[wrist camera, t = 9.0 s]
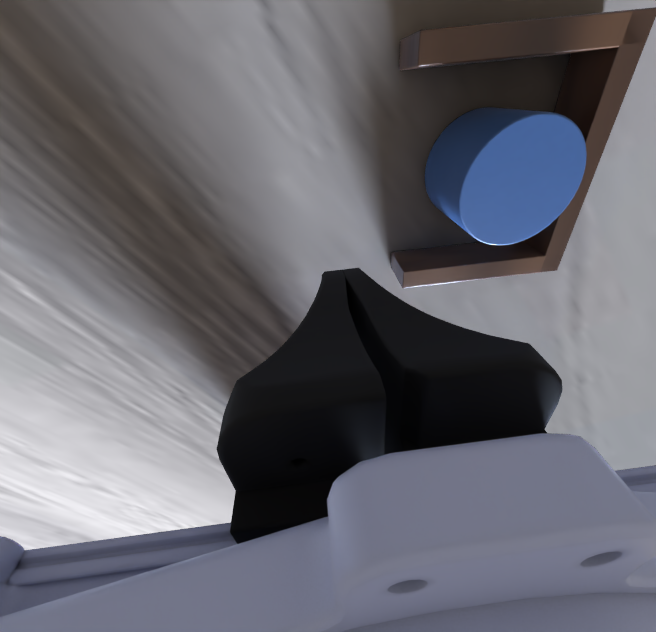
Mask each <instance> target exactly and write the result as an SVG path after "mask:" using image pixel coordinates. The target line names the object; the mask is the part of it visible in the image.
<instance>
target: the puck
mask: <svg viewBox="0 0 656 632" xmlns="http://www.w3.org/2000/svg"><path fill="white" fill-rule="evenodd" d="M586 157H587V152H586V144H585V139H584V137H583V134H582V132H581V131H580V129H579V128H578V126H577V125H576V124H575V123H574V122H573V121H572V120H571V119H569V118H567V117H566V116H564V115H561V114H558V113H552V112H542V111H530V110H517V109H505V108H493V107H486V108H479V109H475V110H472V111H470V112H467V113H465V114H463V115H462V116H460V117H459V118H457V119H456V120H454V121H453V122H452V123H451V124H450V125H449V126H448V127H447V128H446V129H445V130H444V131H443V132H442V133H441V135H440V136H439V137H438V139H437V140H436V142H435V143H434V145H433V147H432V149H431V152H430V154H429V157H428V160H427V164H426V169H425V186H426V190H427V193H428V196H429V198H430V200H431V201H432V203H433V204H434V205H435V206H436V207H437V208H438V209H439V210H440V211H442V212H443V213H444V214H445V215H446V216H448V217H449V218H450V219H451V220H453V221H454V222H455V223H456V224H458V225H459V226H460V227H461V228H462V229H464V230H465V231H466V232H467V233H469V234H470V235H471V236H472V237H474V238H475V239H477V240H478V241H480V242H483V243H486V244H490V245H508V244H514V243H517V242H520V241H523V240H525V239H528V238H530V237H532V236H534V235H536V234H537V233H539V232H540V231H542V230H543V229H545V228H546V227H547V226H549V225H550V224H551V223H552V222H553V221H554V220H555V219H556V218H557V217H558V216H559V215H560V214H561V213H562V212H563V211H564V209H565V208H566V207H567V206H568V204H569V203H570V201H571V200H572V198H573V197H574V195H575V193H576V191H577V190H578V188H579V185H580V183H581V181H582V178H583V174H584V171H585V166H586Z"/></svg>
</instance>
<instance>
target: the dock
mask: <svg viewBox="0 0 656 632" xmlns="http://www.w3.org/2000/svg"><path fill="white" fill-rule="evenodd" d="M655 17H656V7H655V8H645V9H634V10H625V11H614V12H604V13H593V14H583V15H572V16H562V17H551V18H541V19H530V20H520V21H510V22H499V23H489V24H478V25H468V26H457V27H447V28H436V29H426V30H420V31H418V32H416V33H414V34H412V35H410V36H408V37H406V38H404V39H402V40H401V41H400V64H399V69H400V70H410V69H420V68H430V67H441V66H451V65H461V64H471V63H481V62H491V61H501V60H512V59H522V58H532V57H542V56H552V55H562V54H571V55H570V59H569V62H568V66H567V69H566V72H565V76H564V79H563V83H562V86H561V90H560V93H559V97H558V100H557V104H556V107H555V111H554V113H558V114H561V115H564V116H566V117H567V118H569V119H571V120H572V121H573V122H574V123H575V124H576V125H577V126H578V128H579V129H580V131H581V132H582V134H583V137H584V139H585V144H586V152H587V157H586V166H585V171H584V174H583V178H582V181H581V183H580V185H579V188H578V190H577V191H576V193H575V195H574V197H573V198H572V200H571V201H570V203H569V204H568V206H567V207H566V208H565V209H564V211H563V212H562V213H561V214H560V215H559V216H558V217H557V218H556V219H555V220H554V221H553V222H552V223H551V224H550V225H549V226H547V227H546V228H545V229H543V230H542V231H540V232H539V233H537V234H536V235H534V236H532V237H530V238H528V239H525V240H523V241H520V242H517V243H514V244H508V245H490V244H486V243H483V242H478V243H469V244H461V245H452V246H443V247H434V248H425V249H416V250H408V251H399V252H392V254H391V268H392V270H393V272H394V274H395V275H396V277H397V279H398V281H399V283H400V284H401V286H402V288H409V287H417V286H426V285H435V284H443V283H452V282H461V281H469V280H478V279H486V278H495V277H504V276H512V275H521V274H529V273H538V272H547V271H556V270H557V269H558V266H559V264H560V261H561V259H562V256H563V253H564V251H565V248H566V246H567V243H568V241H569V238H570V235H571V233H572V230H573V228H574V225H575V223H576V220H577V217H578V215H579V212H580V210H581V207H582V205H583V202H584V199H585V197H586V194H587V192H588V189H589V187H590V184H591V181H592V179H593V176H594V174H595V171H596V169H597V166H598V163H599V161H600V158H601V156H602V153H603V151H604V148H605V145H606V143H607V140H608V138H609V135H610V133H611V130H612V127H613V125H614V122H615V120H616V117H617V115H618V112H619V110H620V107H621V104H622V102H623V99H624V97H625V94H626V92H627V89H628V86H629V84H630V81H631V79H632V76H633V74H634V71H635V68H636V66H637V63H638V61H639V58H640V56H641V53H642V50H643V48H644V45H645V43H646V40H647V38H648V35H649V32H650V30H651V27H652V25H653V22H654V20H655Z"/></svg>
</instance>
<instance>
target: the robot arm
mask: <svg viewBox="0 0 656 632" xmlns="http://www.w3.org/2000/svg"><path fill="white" fill-rule="evenodd" d="M561 393H562V380H561V378H560V377H559V375H558V374H557V372H556V371H555V370H554V369H553V368H552V367H551V366H550V365H549V364H548V363H547V362H546V361H545V360H544V358H543V357H542V356H541V355H540V354H539V353H538V352H537V351H536V350H535V349H534V348H533V347H532V346H531V345H530V344H528V343H523V342H519V341H514V340H509V339H504V338H500V337H495V336H490V335H486V334H483V333H479V332H476V331H472V330H469V329H465V328H462V327H459V326H456V325H453V324H451V323H448V322H446V321H443V320H440V319H438V318H435V317H433V316H431V315H428V314H426V313H424V312H422V311H420V310H418V309H416V308H414V307H412V306H411V305H409V304H407V303H405V302H404V301H402V300H400V299H399V298H397V297H396V296H394V295H393V294H391V293H390V292H388V291H387V290H385V289H384V288H383V287H381V286H380V285H379V284H378V283H376V282H375V281H374V280H373V279H371V278H370V277H369V276H368V275H367V274H365V273H364V272H363V271H362V270H361V269H359V268H353V269H345V270H336V271H327V272H324V273H323V274H322V280H321V284H320V287H319V290H318V293H317V295H316V297H315V300H314V302H313V304H312V306H311V307H310V309H309V311H308V313H307V315H306V316H305V318H304V319H303V321H302V322H301V324H300V325H299V327H298V328H297V329H296V331H295V332H294V333H293V334H292V335H291V337H290V338H289V339H288V340H287V341H286V342H285V343H284V344H283V345H282V347H281V348H279V349H278V350H277V351H276V352H275V353H274V354H273V355H272V356H270V357H269V358H268V359H267V360H266V361H264V362H263V363H262V364H260V365H259V366H257V367H256V368H255V369H253V370H252V371H250V372H249V373H247V374H246V375H245V376H243V377H242V378H240V379H238V380H237V381H236V384H235V386H234V388H233V391H232V393H231V396H230V398H229V401H228V404H227V406H226V409H225V412H224V416H223V420H222V425H221V431H220V436H219V441H218V446H217V452H218V456H219V459H220V461H221V463H222V465H223V467H224V469H225V471H226V473H227V475H228V477H229V479H230V481H231V482H232V484H233V486H234V488H235V490H236V493H235V500H234V507H233V514H232V521H231V523H225V524H217V525H210V526H203V527H195V528H188V529H180V530H173V531H166V532H158V533H151V534H143V535H136V536H129V537H121V538H114V539H106V540H99V541H92V542H84V543H77V544H69V545H62V546H55V547H47V548H40V549H32V550H24V548H23V547H22V546H21V545H19V544H18V543H17V542H15V541H13V540H11V539H9V538H6V537H1V536H0V632H656V465H654V466H647V467H640V468H632V469H625V470H617V471H614V470H613V469H612V467H611V466H610V465H609V464H608V463H607V462H606V460H605V459H604V458H603V457H602V456H601V454H600V453H599V452H598V451H597V450H596V449H595V448H594V447H593V446H592V445H591V444H589V443H588V442H587V441H585V440H584V439H583V438H582V437H580V436H576V435H571V434H547V432H546V431H545V430H544V429H545V427H546V425H547V423H548V421H549V419H550V418H551V416H552V414H553V412H554V410H555V408H556V406H557V404H558V402H559V399H560V396H561Z"/></svg>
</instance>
